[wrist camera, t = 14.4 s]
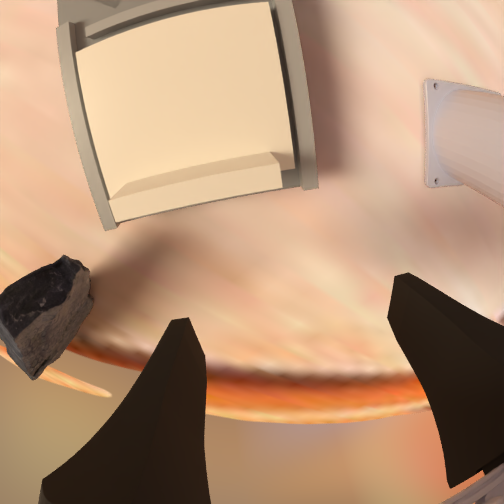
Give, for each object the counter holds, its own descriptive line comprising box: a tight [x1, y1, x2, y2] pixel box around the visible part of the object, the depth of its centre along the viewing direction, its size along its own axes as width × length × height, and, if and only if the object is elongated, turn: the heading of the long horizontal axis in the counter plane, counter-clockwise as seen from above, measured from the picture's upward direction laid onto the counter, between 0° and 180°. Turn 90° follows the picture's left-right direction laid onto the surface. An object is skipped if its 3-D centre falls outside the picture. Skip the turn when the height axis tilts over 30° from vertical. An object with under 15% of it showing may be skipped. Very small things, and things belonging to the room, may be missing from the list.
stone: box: [0, 255, 93, 380], centre depth 15 cm, size 14×6×10 cm, turn 157°
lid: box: [76, 2, 295, 222], centre depth 10 cm, size 9×8×3 cm
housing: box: [56, 0, 319, 231], centre depth 10 cm, size 12×20×3 cm, turn 9°
